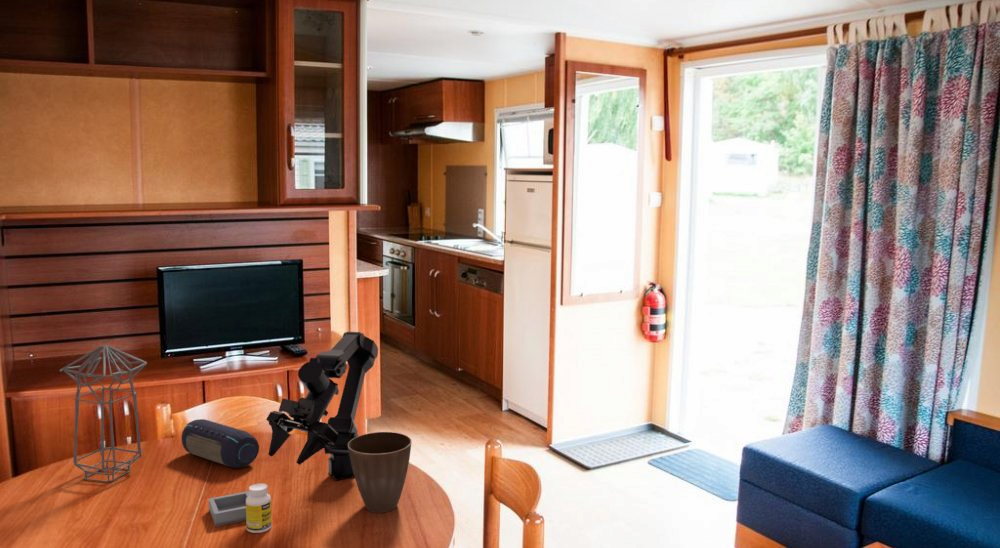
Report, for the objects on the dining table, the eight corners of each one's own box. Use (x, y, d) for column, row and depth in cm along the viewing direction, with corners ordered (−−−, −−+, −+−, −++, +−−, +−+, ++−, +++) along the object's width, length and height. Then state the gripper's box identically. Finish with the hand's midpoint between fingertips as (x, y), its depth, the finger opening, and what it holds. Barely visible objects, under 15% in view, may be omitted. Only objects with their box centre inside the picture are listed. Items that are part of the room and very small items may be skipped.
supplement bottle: (264, 535, 171) (262, 492, 170) (242, 532, 172) (240, 490, 171) (276, 524, 177) (274, 483, 175) (254, 521, 178) (252, 480, 176)
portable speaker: (175, 456, 218) (173, 422, 216) (206, 445, 226) (204, 412, 225) (233, 476, 204) (232, 439, 203) (264, 464, 212) (262, 429, 211)
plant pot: (360, 525, 176) (358, 458, 174) (341, 500, 189) (340, 437, 187) (421, 512, 183) (420, 447, 181) (399, 489, 196) (398, 428, 194)
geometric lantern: (106, 461, 213) (101, 336, 209) (154, 469, 209) (151, 342, 205) (59, 483, 198) (53, 349, 194) (110, 491, 194) (106, 355, 190)
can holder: (249, 502, 188) (249, 491, 187) (257, 518, 180) (256, 505, 179) (209, 510, 183) (208, 498, 183) (215, 526, 175) (214, 514, 175)
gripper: (270, 378, 186) (235, 435, 179) (327, 390, 177) (293, 451, 169) (296, 401, 194) (263, 457, 186) (352, 414, 184) (320, 474, 177)
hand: (283, 459), depth 179 cm, fingers open, 9 cm apart
